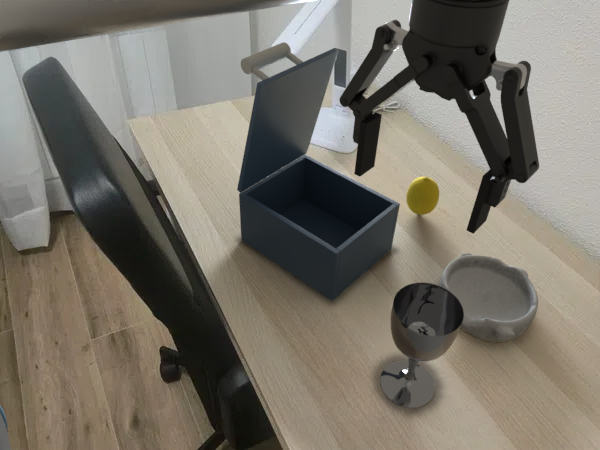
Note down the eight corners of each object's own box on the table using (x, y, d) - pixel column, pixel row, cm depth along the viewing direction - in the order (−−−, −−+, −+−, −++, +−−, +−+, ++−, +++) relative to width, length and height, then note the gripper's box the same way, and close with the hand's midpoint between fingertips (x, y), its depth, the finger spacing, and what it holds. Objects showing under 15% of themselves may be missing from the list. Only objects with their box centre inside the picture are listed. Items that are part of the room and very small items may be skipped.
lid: (338, 50, 79) (301, 23, 81) (261, 86, 70) (221, 54, 72) (306, 153, 94) (276, 128, 97) (240, 193, 85) (208, 164, 88)
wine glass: (415, 423, 68) (439, 348, 58) (364, 384, 72) (379, 308, 62) (449, 382, 72) (477, 307, 63) (399, 348, 76) (418, 272, 67)
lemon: (440, 217, 98) (450, 181, 93) (417, 227, 96) (425, 191, 91) (420, 200, 102) (428, 164, 96) (396, 210, 99) (403, 173, 94)
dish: (514, 362, 75) (524, 339, 72) (420, 316, 81) (426, 293, 77) (543, 297, 84) (553, 274, 81) (457, 260, 90) (464, 237, 87)
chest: (391, 249, 91) (400, 203, 85) (331, 301, 82) (336, 254, 76) (303, 198, 101) (305, 154, 95) (241, 240, 92) (238, 193, 86)
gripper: (642, 13, 40) (547, 233, 54) (363, -56, 52) (344, 138, 66) (608, 42, 35) (514, 273, 49) (312, -41, 47) (303, 163, 61)
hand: (417, 196), depth 57 cm, fingers open, 13 cm apart
